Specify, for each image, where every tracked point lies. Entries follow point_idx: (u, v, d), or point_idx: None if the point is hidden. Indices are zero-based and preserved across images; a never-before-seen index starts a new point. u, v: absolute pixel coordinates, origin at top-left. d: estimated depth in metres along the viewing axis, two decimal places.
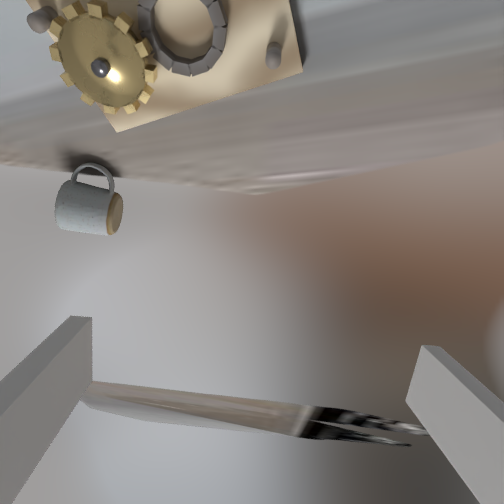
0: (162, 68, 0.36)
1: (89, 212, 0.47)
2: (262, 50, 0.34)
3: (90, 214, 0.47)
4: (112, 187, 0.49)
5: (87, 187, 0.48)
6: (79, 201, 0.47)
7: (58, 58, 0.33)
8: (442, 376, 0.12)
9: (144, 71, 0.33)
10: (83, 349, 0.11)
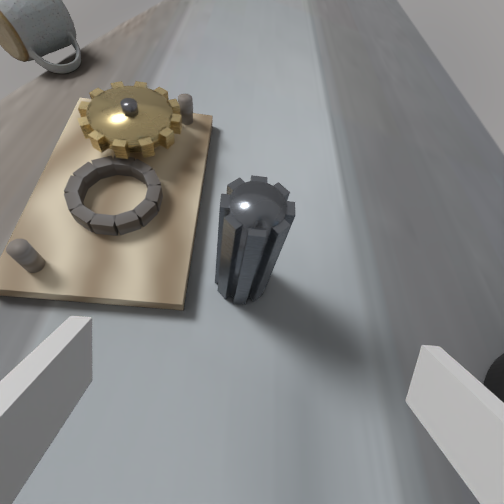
0: None
1: (23, 6, 0.38)
2: (44, 253, 0.28)
3: (19, 5, 0.38)
4: (36, 57, 0.40)
5: (54, 40, 0.42)
6: (43, 14, 0.39)
7: (157, 90, 0.35)
8: (442, 376, 0.12)
9: (102, 134, 0.31)
10: (83, 349, 0.11)
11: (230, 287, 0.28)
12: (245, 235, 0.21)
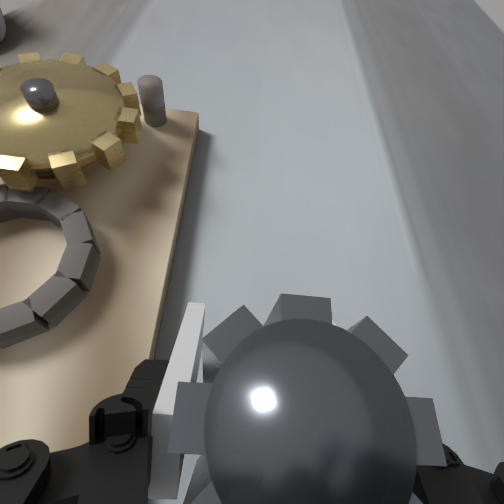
0: None
1: None
2: None
3: None
4: None
5: None
6: None
7: (99, 68, 0.20)
8: None
9: None
10: (202, 329, 0.14)
11: None
12: None
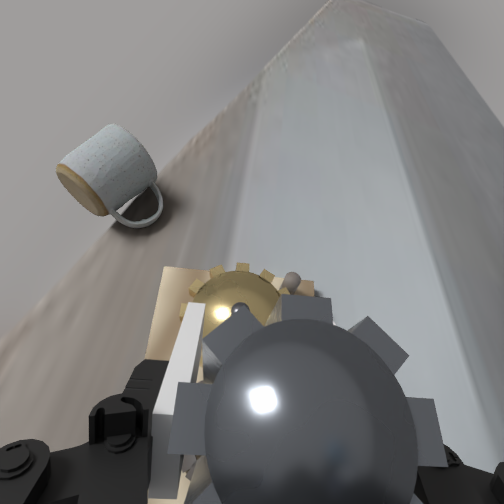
0: (199, 371, 0.29)
1: (108, 170, 0.33)
2: None
3: (105, 170, 0.32)
4: (118, 217, 0.35)
5: (136, 192, 0.36)
6: (129, 172, 0.34)
7: (262, 275, 0.30)
8: None
9: None
10: (202, 329, 0.14)
11: None
12: None
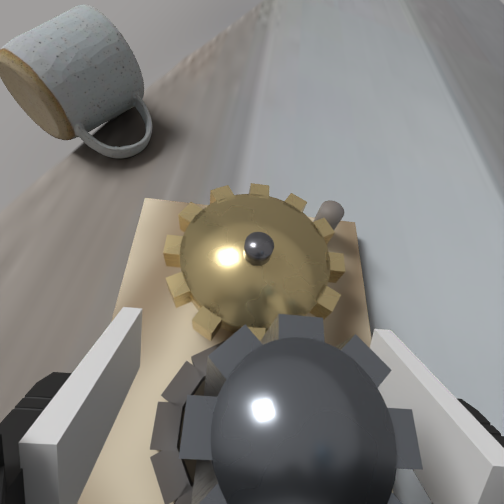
0: (195, 341, 0.19)
1: (71, 61, 0.22)
2: None
3: (65, 60, 0.22)
4: (87, 138, 0.25)
5: (114, 107, 0.26)
6: (102, 70, 0.24)
7: (289, 201, 0.20)
8: (388, 356, 0.12)
9: (218, 316, 0.16)
10: (136, 337, 0.12)
11: None
12: None
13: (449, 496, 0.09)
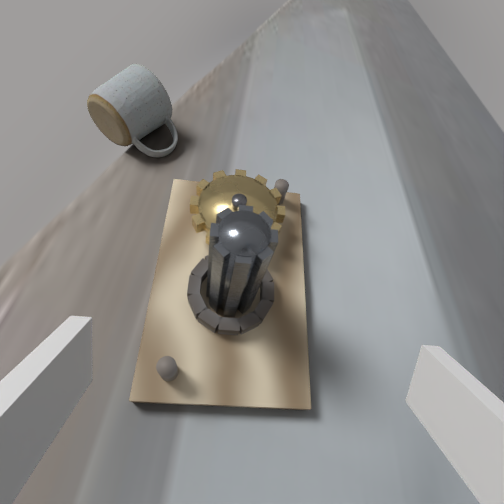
0: (206, 253, 0.35)
1: (133, 100, 0.38)
2: (175, 358, 0.29)
3: (130, 100, 0.38)
4: (139, 145, 0.41)
5: (154, 125, 0.42)
6: (149, 104, 0.40)
7: (257, 179, 0.37)
8: (442, 376, 0.11)
9: None
10: (83, 349, 0.11)
11: (220, 302, 0.30)
12: (233, 260, 0.23)
13: None
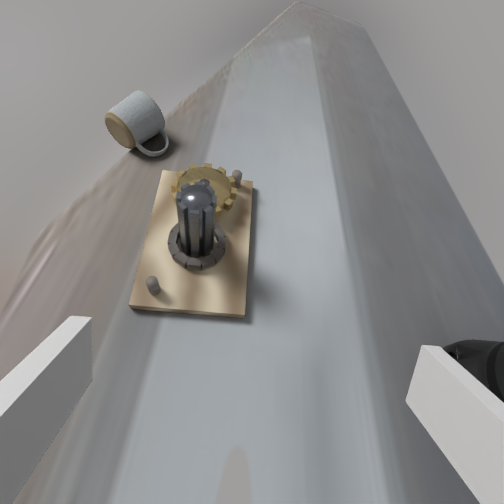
0: None
1: (137, 117, 0.55)
2: (158, 282, 0.46)
3: (135, 116, 0.55)
4: (141, 148, 0.57)
5: (152, 134, 0.59)
6: (148, 119, 0.56)
7: (219, 169, 0.53)
8: (442, 376, 0.11)
9: None
10: (83, 349, 0.11)
11: (188, 247, 0.46)
12: None
13: None
